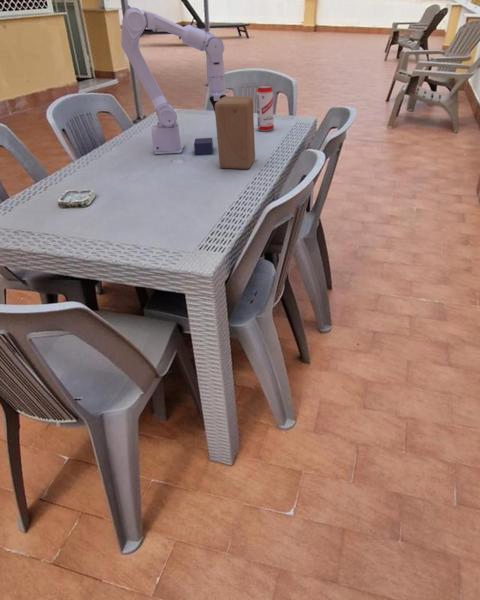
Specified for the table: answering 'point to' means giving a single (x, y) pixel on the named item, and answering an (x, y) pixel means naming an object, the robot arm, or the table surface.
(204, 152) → the navy block
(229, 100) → the wooden block
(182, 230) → the table surface
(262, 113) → the beer can
